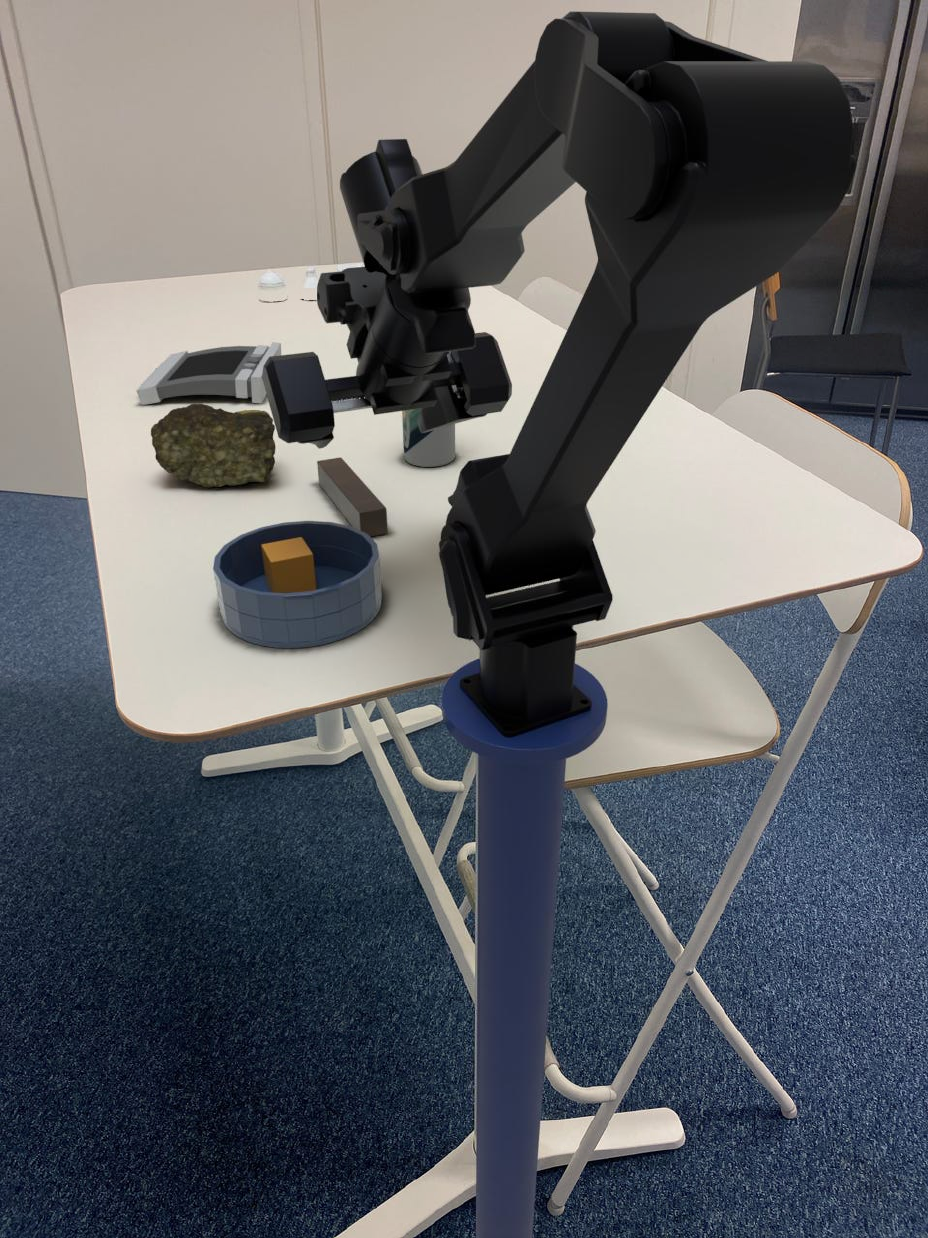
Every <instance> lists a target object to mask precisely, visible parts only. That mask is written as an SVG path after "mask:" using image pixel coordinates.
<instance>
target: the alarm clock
mask: <svg viewBox="0 0 928 1238" xmlns="http://www.w3.org/2000/svg"><path fill="white" fill-rule="evenodd" d="M280 355H282V343H281V342H276V341H275V342H271V344H270V345H264V344H263V345H261V344H257V346H256V345H255V346H254V345H253V346H252V345H233V346H231V345H230V346H219V347H215V348H214V347H213V348H207V349H201V350H197V351H192V352H189V351H188V350H184V351H179V352H175V353H172V354H171V353H170V354H169V355H168V356H167V358H166V359H164V361H163V362H161V364H159V365H158V366H157V368H156V369H155V370H154V371H153V372H152V373H151V374H150V375H149V376H148V377H147V378H146V379H145V380H144V381H143V382H142V383H141V384H140V386H139V387H138V388H137V389H136V390H135V391H136V394H137V397H138V399H139V401H140V405H141V406H145V405H150V404H158V403H160V402H162V400H164V399H168V398H174V397H183V396H195V395H204V396H205V395H207V396H209V395H213V396H215V395H216V396H217V395H218V396H229V397H235V398H237V399H249V398H251V403H252V404H263V402H264V400H265V398H266V397H267V394H266V390H265V387H264V383H263V380H262V372H263V366H264V364H265V363H266V361H267V359H268V358H269V357H271V356H280Z"/></svg>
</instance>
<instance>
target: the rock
mask: <svg viewBox="0 0 928 1238" xmlns="http://www.w3.org/2000/svg"><path fill="white" fill-rule="evenodd" d="M275 430H276V426H275V423H274V419H273V417H272V416H271V415H270V413H268V412H267V411H265V410H260V409H247V410H246V409H244V410H239V411H234V412H231V411H227V410H224V409H223V408H221V407H220V408H214V407H213V406H211V405H209V404H204V403H192V404H189V405H187V406H183V407H177V408H173V409H170V411H169V412H168V413H167V414H166V415H164V416H163V417H162V418H161V419H159V420H158V421H157V423H155V424H153V425H152V427H151V428H150V437H151V445H152V448H154V452H155V460H156V461H157V463H158V464H159V466H160V467H161V468H162V469H163V470H164V471H166V472H167V473H168V474H171V475H175V476H176V477H177V478H178V479H179V480H181V481H185V482H188V481H190V482H191V483H194V484H196V485H198V486H201V487H202V488H210V489H212V488H214V487H217V488H219V487H223V486H226V485H227V486H230V487H231V486H233V487H235V486H237V485H239V486H242V485H246V484H248V483H249V482H250V483H253V482H255V483H256V482H257V483H265V482H267V481H268V480H269V477H270V476H271V474H272V472H273V469H274V467H275V464H276V458H275V453H276V441H275V439H274V434H275V433H274V432H275Z"/></svg>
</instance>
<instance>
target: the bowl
mask: <svg viewBox="0 0 928 1238" xmlns="http://www.w3.org/2000/svg"><path fill="white" fill-rule="evenodd" d="M299 537H302V538H303V540H304V541H305V543H306V544H307V546H308V547H309V549H310V550H311V552H312V554H313V560H314V569H315V579H316V588H317V590H313V591H306V592H294V593H272V591H271V589H270V587H269V585H268V584H267V582H266V577H265V570H264V563H263V555H262V548H261V545H262V544H267V543H272V542H277V541H283V540H288V539H293V538H299ZM212 571H213V576H214V582H215V588H216V594H217V600H218V605H219V611H220V615H221V618H222V622H223V623H224V625H225V627H226V628H227V629H228V630H229V632H230V633H232V634H233V635H235V636H236V637H238V638H239V639H241V640H244V641H246V642H248V643H251V644H254V645H258V646H263V647H269V648H276V649H277V648H278V649H302V648H311V647H317V646H322V645H327V644H331V643H335V642H338V641H340V640H343V639H345V638H348V637H350V636H352V635H354V634H356V633H358V632H360V631H361V630H363V629H364V628H366V627H368V625H369V624H371V623H372V622H373V620H374V619H375V618H376V617H377V616H378V614H379V612H380V610H381V608H382V599H383V594H382V579H381V578H382V577H381V562H380V552H379V547H378V544H377V542H376V541H375V540H374V539H373V538H372V537H370V536H369V535H368V534H366V533H364V532H362V531H360V530H358V529H356V528H354V527H352V526H351V525H346V524H342V523H337V522H333V521H319V520H300V521H287V522H286V521H285V522H279V523H276V524H271V525H266V526H261V527H258V528H255V529H253V530H250V531H247V532H245V533H242V534H240V535H238V536H237V537H235V538H233V539H231V540H230V541H228V542H227V543H225V544H224V545H223V546H222V547H221V548H220V549H219V551H218V552H217V553H216V555H215V556H214V560H213V566H212Z"/></svg>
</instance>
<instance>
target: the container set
mask: <svg viewBox="0 0 928 1238" xmlns="http://www.w3.org/2000/svg"><path fill="white" fill-rule="evenodd" d="M355 267H365V266H364V264H361V263H358V264H337V265H336V272H341V271H343V270H344V269H347V268H355ZM318 281H319V278H318V277H317V273H316V268H315V267H313V266H308V267H306V269H305V278H304V280H303V281H302V284H301V285H300V287H301V286H302V287H304V288H315V287H317V285H318ZM257 287H258V290H259V289H260V290H269V291H270V290H278V289H282V288H284V287H285V288H286V283H285V280H284V278H283V277H282V275H280V273H278V272H275V271H274V270H273V269H267V270H266V272H265V273H263V274H262V275H260V277H259V279H258V286H257Z"/></svg>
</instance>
